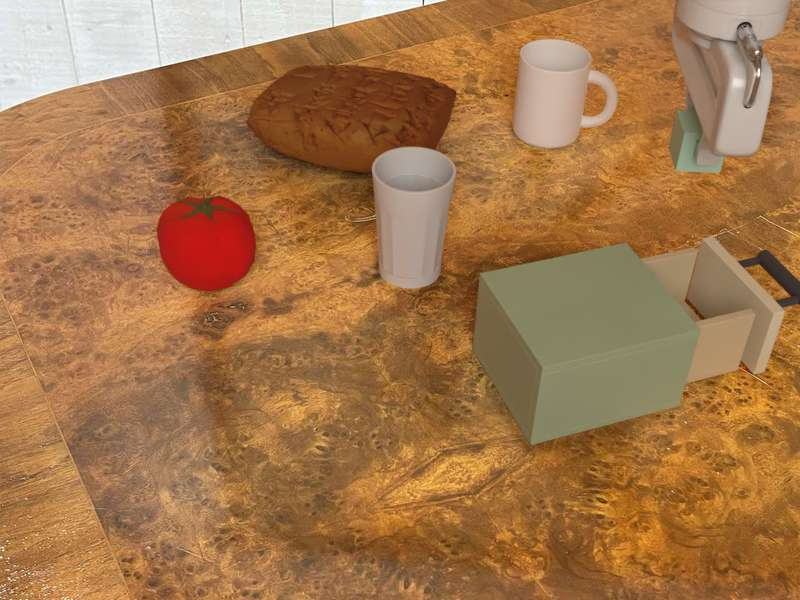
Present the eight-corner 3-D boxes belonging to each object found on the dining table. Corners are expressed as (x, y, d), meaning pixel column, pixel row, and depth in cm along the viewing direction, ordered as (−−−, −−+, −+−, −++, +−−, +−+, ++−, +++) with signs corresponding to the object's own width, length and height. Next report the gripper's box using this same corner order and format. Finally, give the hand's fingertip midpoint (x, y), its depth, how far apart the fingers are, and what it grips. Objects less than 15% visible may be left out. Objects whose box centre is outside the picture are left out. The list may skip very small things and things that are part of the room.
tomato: (227, 317, 102) (220, 247, 96) (138, 285, 105) (127, 215, 99) (277, 263, 108) (273, 195, 103) (192, 235, 111) (184, 167, 106)
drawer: (742, 285, 106) (760, 225, 102) (812, 359, 98) (836, 298, 93) (574, 323, 101) (584, 263, 96) (634, 406, 93) (649, 344, 88)
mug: (613, 125, 131) (627, 48, 124) (606, 160, 125) (621, 81, 118) (517, 110, 133) (526, 34, 126) (505, 144, 127) (514, 66, 120)
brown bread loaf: (465, 137, 128) (470, 77, 123) (410, 212, 116) (413, 149, 111) (301, 96, 134) (299, 37, 129) (232, 163, 122) (227, 101, 117)
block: (711, 149, 98) (721, 111, 95) (720, 173, 95) (730, 134, 92) (667, 147, 98) (676, 109, 95) (675, 171, 95) (684, 132, 92)
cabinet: (610, 317, 103) (626, 242, 97) (679, 406, 94) (701, 329, 88) (472, 349, 99) (479, 273, 93) (530, 445, 90) (542, 367, 84)
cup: (354, 264, 108) (354, 164, 101) (413, 235, 112) (418, 137, 105) (405, 304, 104) (409, 203, 96) (465, 273, 108) (474, 173, 100)
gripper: (806, 60, 79) (760, 214, 87) (745, -49, 94) (711, 91, 103) (721, 57, 79) (683, 211, 87) (674, -52, 94) (646, 88, 103)
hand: (698, 145), depth 95 cm, fingers closed on block, 4 cm apart
